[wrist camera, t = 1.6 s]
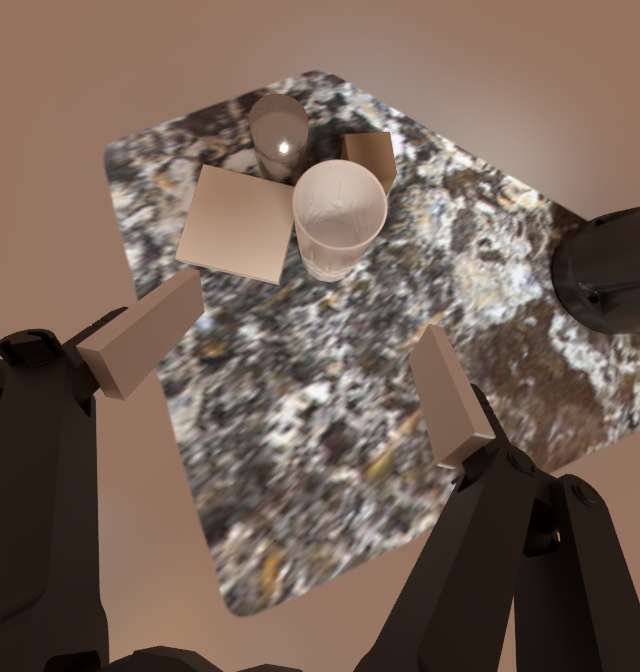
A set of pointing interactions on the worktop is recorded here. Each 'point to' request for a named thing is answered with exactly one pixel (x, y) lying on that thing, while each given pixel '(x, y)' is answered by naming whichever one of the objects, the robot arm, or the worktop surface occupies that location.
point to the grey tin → (280, 138)
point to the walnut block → (372, 155)
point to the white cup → (336, 216)
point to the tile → (238, 225)
